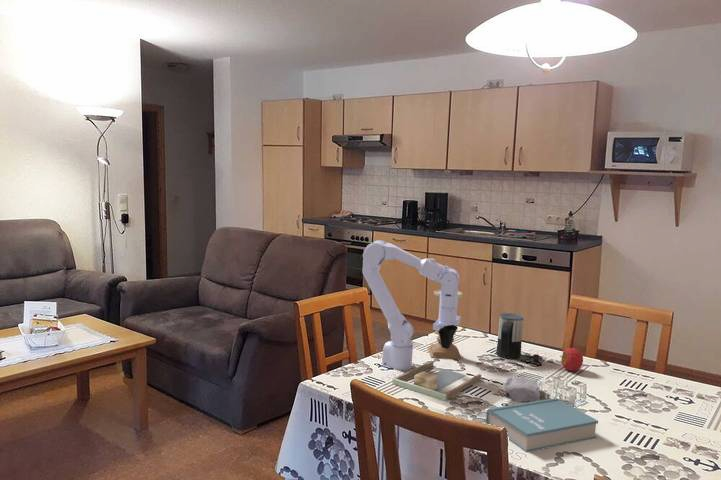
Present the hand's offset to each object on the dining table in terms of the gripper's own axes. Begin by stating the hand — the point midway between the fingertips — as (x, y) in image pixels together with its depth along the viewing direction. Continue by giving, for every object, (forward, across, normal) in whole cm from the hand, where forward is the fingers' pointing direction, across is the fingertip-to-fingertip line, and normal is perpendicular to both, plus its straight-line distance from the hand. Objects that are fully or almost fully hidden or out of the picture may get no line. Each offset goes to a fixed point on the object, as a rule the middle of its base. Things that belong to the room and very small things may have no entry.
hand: (445, 347), depth 183 cm
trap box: (+9, -9, -3) cm, 13 cm away
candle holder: (+10, +16, +9) cm, 21 cm away
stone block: (+10, +4, -25) cm, 27 cm away
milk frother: (+10, +35, -11) cm, 38 cm away
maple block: (+8, -17, -3) cm, 19 cm away
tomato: (+10, +36, -29) cm, 47 cm away
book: (+10, -17, -38) cm, 43 cm away
